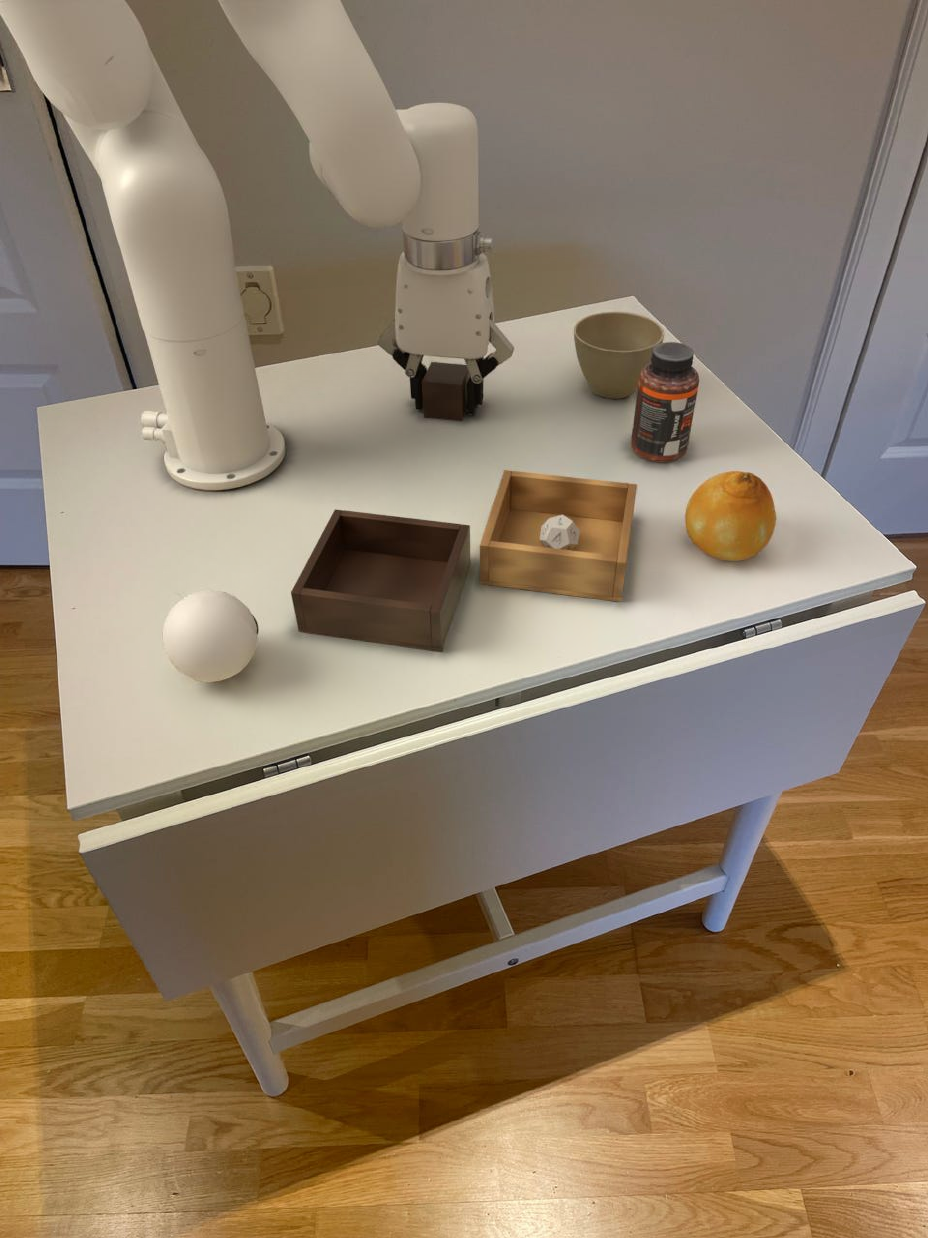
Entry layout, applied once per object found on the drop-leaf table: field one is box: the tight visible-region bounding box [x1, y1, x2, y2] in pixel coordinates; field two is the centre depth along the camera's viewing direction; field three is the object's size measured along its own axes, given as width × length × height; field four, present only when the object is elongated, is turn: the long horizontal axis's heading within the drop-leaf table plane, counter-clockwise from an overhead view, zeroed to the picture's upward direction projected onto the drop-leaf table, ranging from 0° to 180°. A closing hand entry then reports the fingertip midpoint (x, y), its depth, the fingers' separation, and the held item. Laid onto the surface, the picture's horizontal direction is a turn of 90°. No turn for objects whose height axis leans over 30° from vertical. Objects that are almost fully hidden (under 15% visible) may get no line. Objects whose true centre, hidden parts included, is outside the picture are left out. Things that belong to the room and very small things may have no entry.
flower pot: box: [573, 311, 665, 400], centre depth 104 cm, size 10×10×7 cm
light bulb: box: [162, 589, 259, 683], centre depth 73 cm, size 10×7×7 cm
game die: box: [539, 515, 580, 550], centre depth 83 cm, size 4×4×3 cm
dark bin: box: [290, 509, 472, 653], centre depth 79 cm, size 13×12×4 cm
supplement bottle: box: [630, 341, 700, 463], centre depth 93 cm, size 6×6×11 cm
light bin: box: [479, 469, 638, 603], centre depth 83 cm, size 13×12×4 cm
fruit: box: [684, 470, 777, 562], centre depth 83 cm, size 8×8×8 cm
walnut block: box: [422, 361, 470, 422], centre depth 102 cm, size 4×4×4 cm
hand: (447, 405), depth 103 cm, fingers open, 5 cm apart
